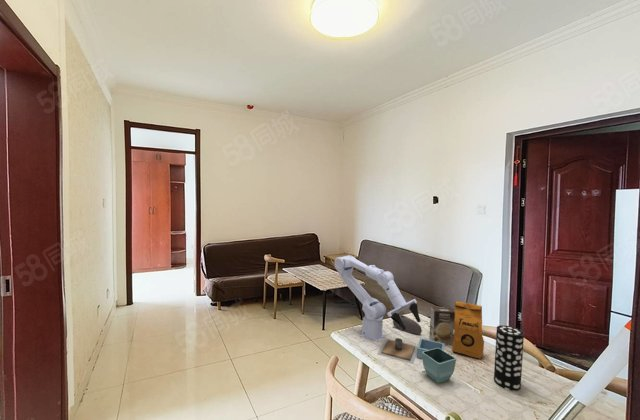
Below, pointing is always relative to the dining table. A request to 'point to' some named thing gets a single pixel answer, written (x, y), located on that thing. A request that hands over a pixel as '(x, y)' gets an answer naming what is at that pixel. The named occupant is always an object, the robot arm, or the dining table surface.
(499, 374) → the white-spotted black cylinder
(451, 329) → the coffee box
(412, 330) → the perforated stone tool
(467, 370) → the dining table surface
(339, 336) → the dining table surface
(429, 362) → the flower pot
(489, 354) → the dining table surface
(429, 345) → the dish
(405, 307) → the robot arm
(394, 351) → the lid
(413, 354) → the mat
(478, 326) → the coffee package
